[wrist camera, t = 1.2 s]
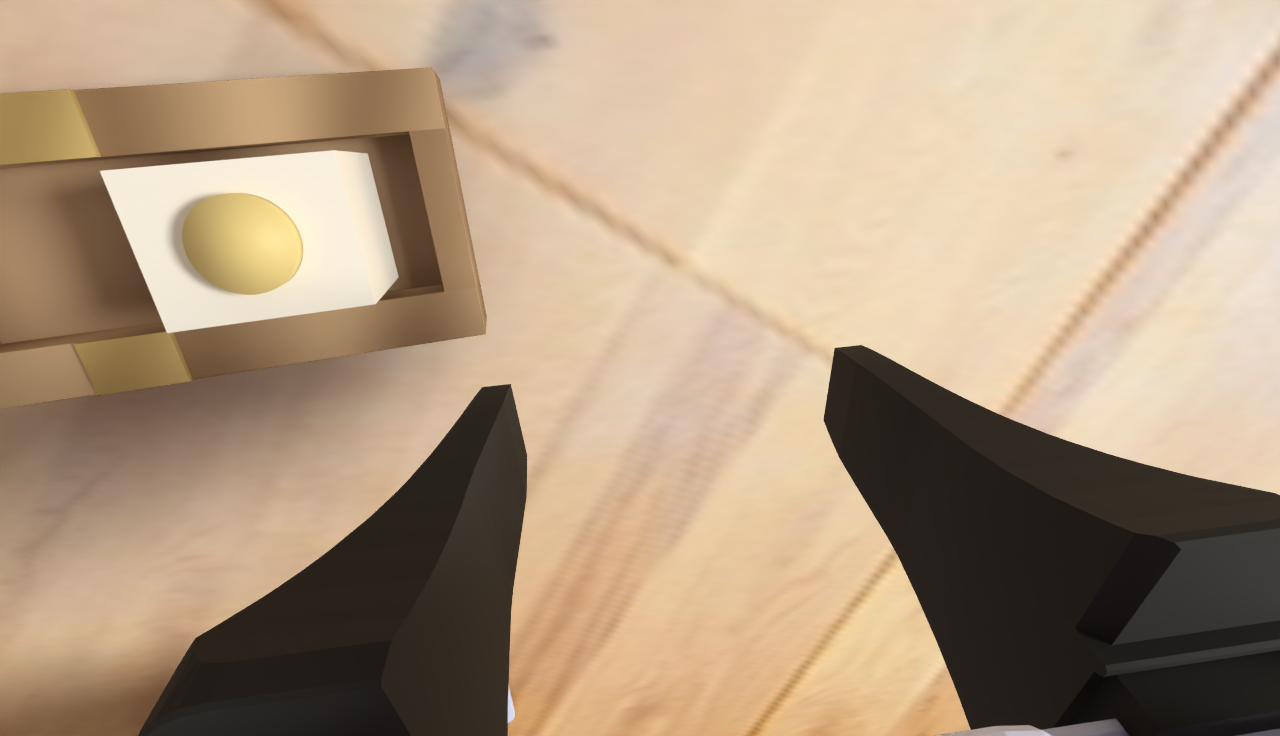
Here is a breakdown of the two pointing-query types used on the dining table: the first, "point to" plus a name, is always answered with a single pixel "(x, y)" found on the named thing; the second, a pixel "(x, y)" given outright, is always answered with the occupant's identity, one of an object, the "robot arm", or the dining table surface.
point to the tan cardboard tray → (198, 132)
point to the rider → (255, 236)
